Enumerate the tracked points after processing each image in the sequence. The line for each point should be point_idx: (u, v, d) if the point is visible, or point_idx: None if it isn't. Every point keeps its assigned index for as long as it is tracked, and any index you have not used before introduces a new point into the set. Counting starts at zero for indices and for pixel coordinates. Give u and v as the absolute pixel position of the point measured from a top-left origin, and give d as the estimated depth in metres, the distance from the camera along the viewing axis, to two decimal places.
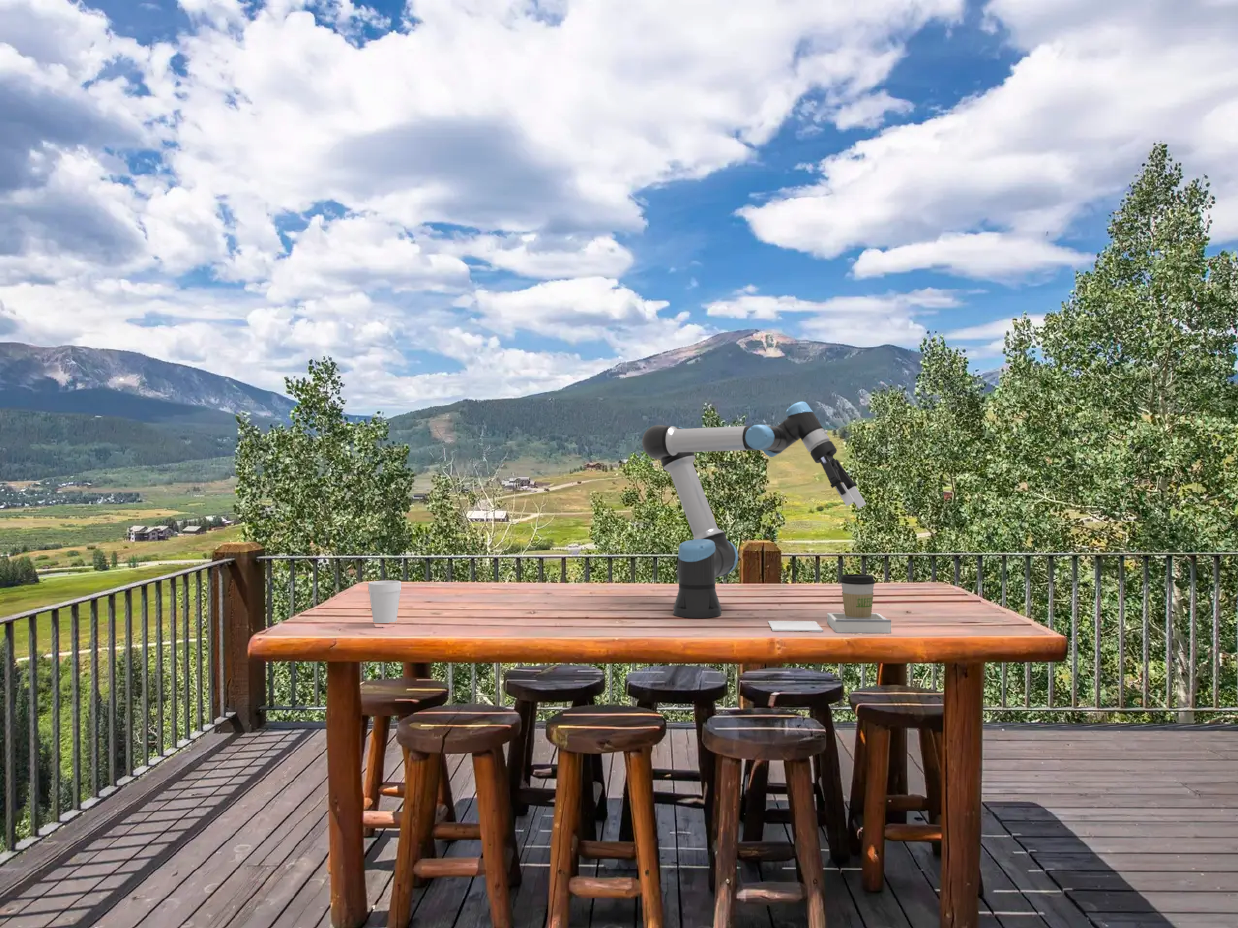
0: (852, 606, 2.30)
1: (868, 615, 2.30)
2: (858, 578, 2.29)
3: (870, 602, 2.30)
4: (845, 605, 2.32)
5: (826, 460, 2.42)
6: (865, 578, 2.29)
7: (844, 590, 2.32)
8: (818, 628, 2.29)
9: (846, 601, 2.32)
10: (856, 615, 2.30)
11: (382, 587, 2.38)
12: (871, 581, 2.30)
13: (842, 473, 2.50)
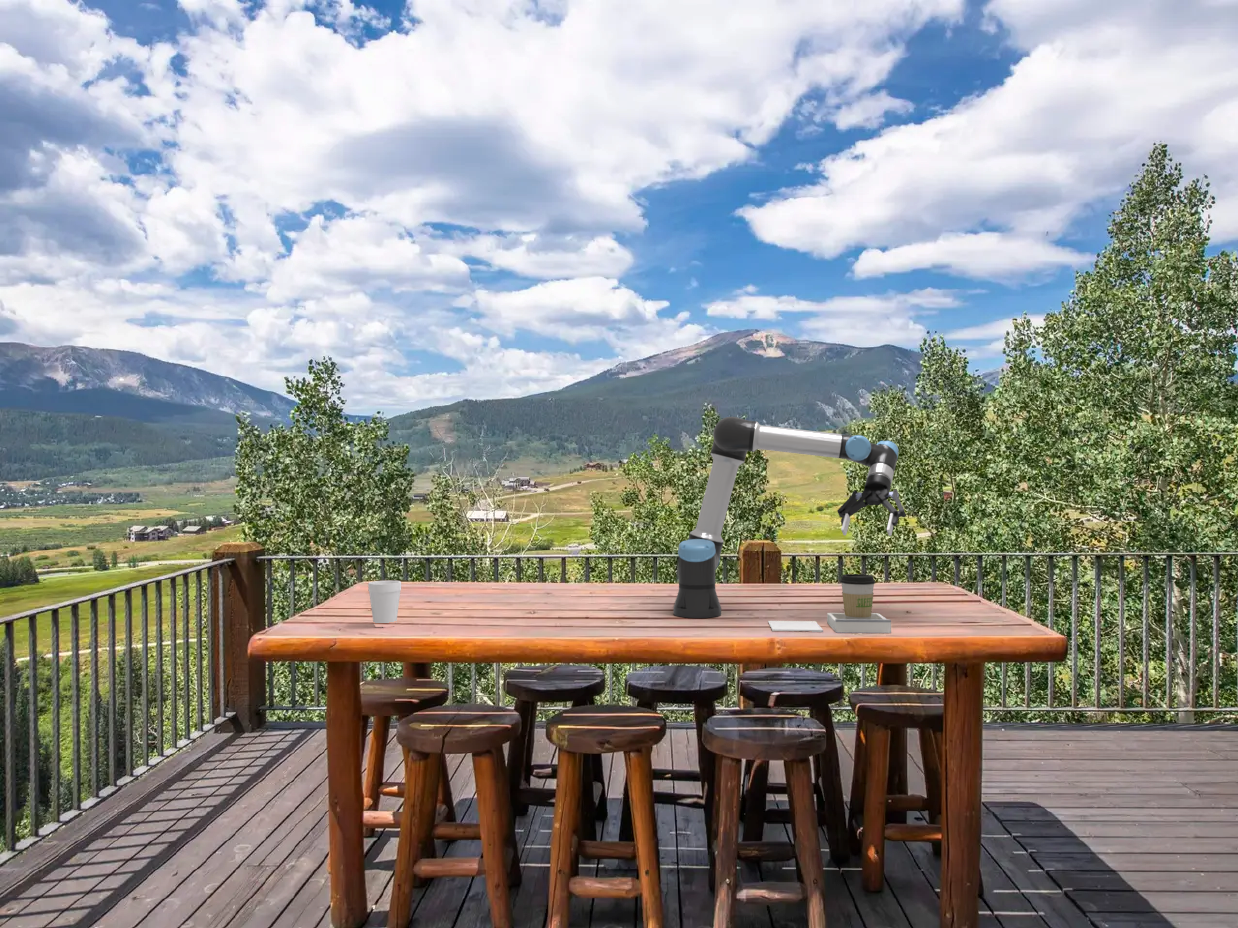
0: (852, 606, 2.30)
1: (868, 615, 2.30)
2: (858, 578, 2.29)
3: (870, 602, 2.30)
4: (845, 605, 2.32)
5: (898, 497, 2.47)
6: (865, 578, 2.29)
7: (844, 590, 2.32)
8: (818, 628, 2.29)
9: (846, 601, 2.32)
10: (856, 615, 2.30)
11: (382, 587, 2.38)
12: (871, 581, 2.30)
13: (862, 506, 2.51)
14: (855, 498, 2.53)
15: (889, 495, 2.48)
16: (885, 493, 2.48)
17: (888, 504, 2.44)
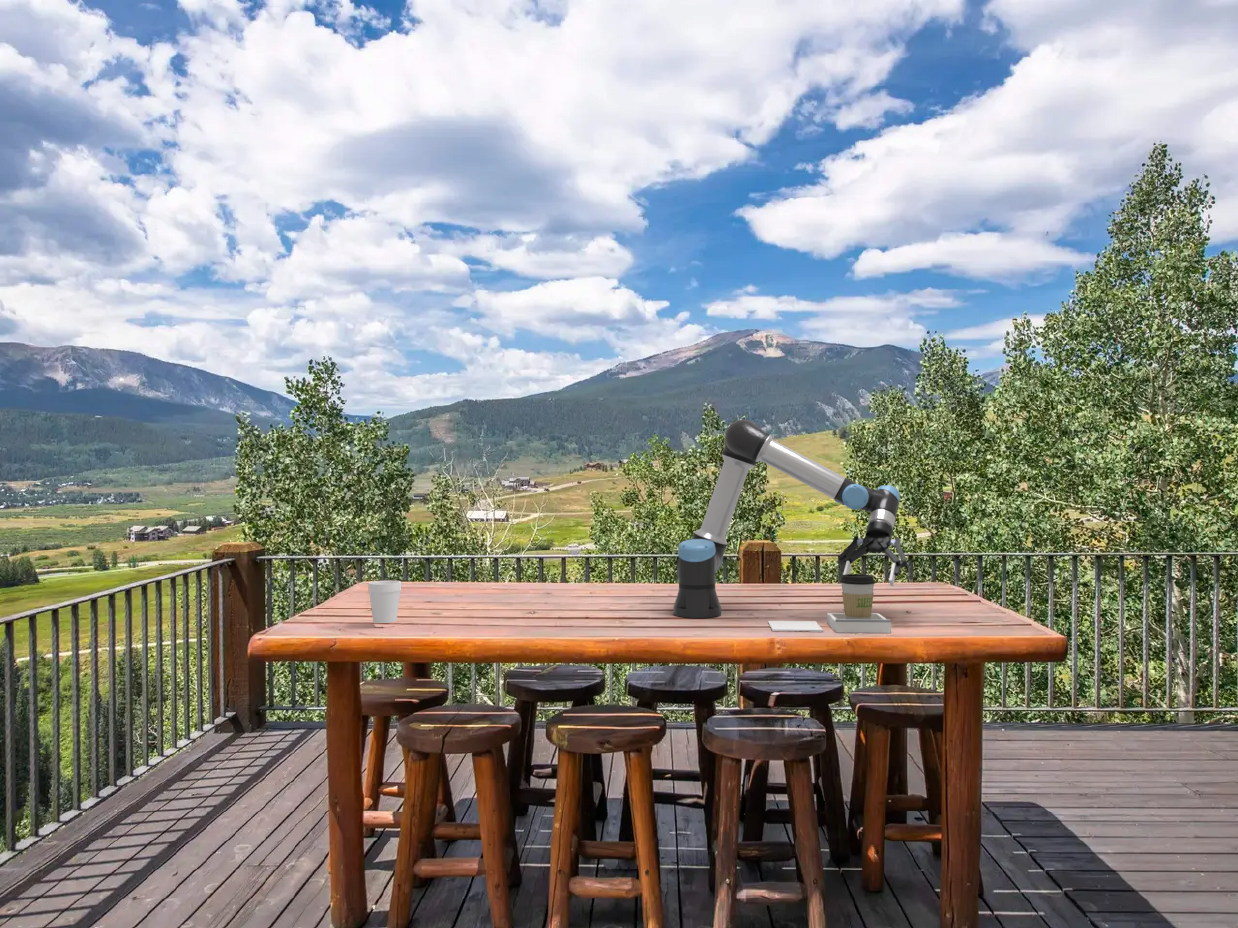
0: (852, 606, 2.30)
1: (868, 615, 2.30)
2: (858, 578, 2.29)
3: (870, 602, 2.30)
4: (845, 605, 2.32)
5: (900, 545, 2.44)
6: (865, 578, 2.29)
7: (844, 590, 2.32)
8: (818, 628, 2.29)
9: (846, 601, 2.32)
10: (856, 615, 2.30)
11: (382, 587, 2.38)
12: (871, 581, 2.30)
13: (863, 553, 2.47)
14: (856, 544, 2.49)
15: (891, 543, 2.45)
16: (887, 541, 2.45)
17: (890, 553, 2.41)
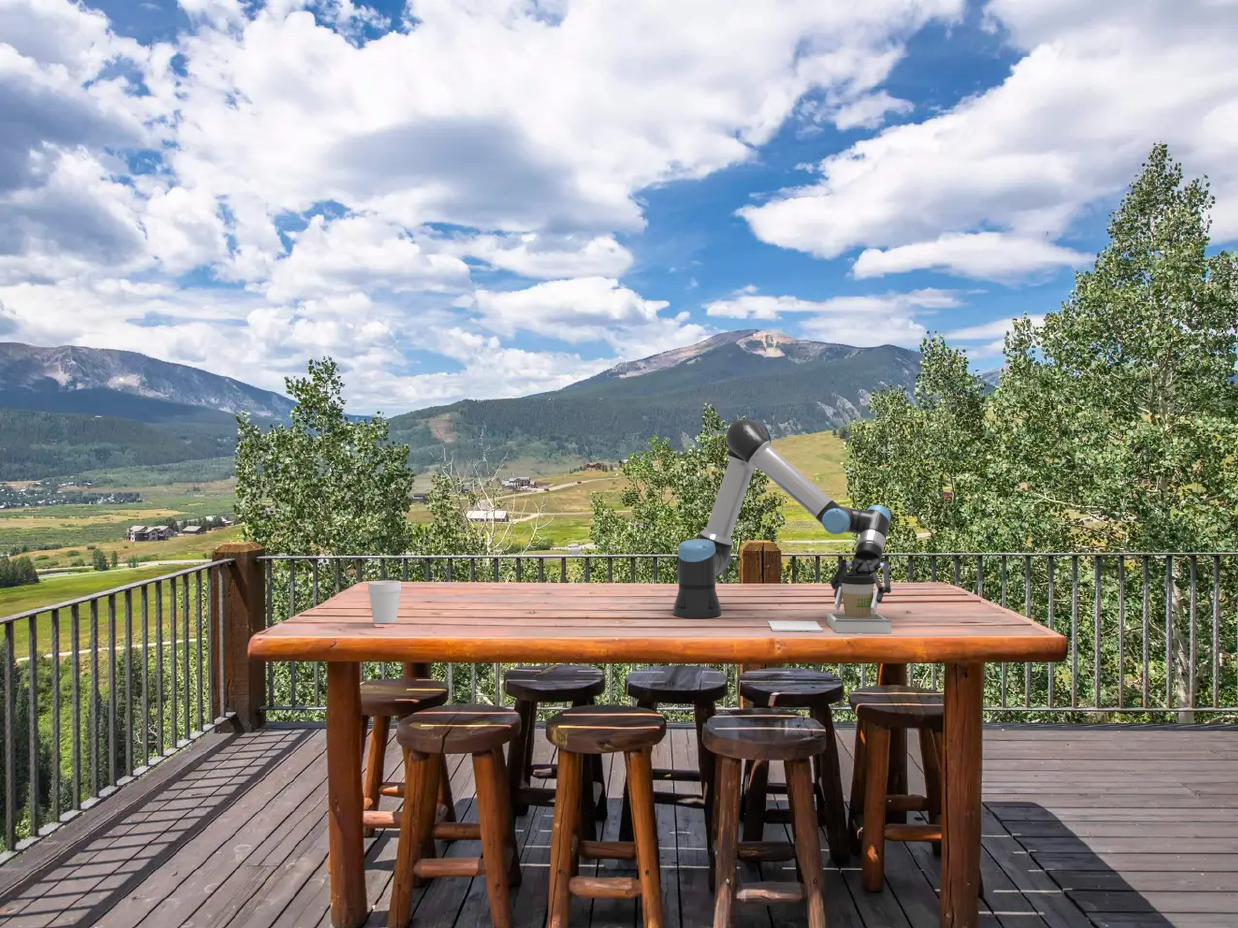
0: (852, 606, 2.30)
1: (868, 615, 2.30)
2: (858, 578, 2.29)
3: (870, 602, 2.30)
4: (845, 605, 2.32)
5: (888, 570, 2.37)
6: (865, 578, 2.29)
7: (844, 590, 2.32)
8: (818, 628, 2.29)
9: (846, 601, 2.32)
10: (856, 615, 2.30)
11: (382, 587, 2.38)
12: (871, 581, 2.30)
13: None
14: (846, 567, 2.42)
15: (880, 566, 2.38)
16: (876, 563, 2.38)
17: (875, 577, 2.34)
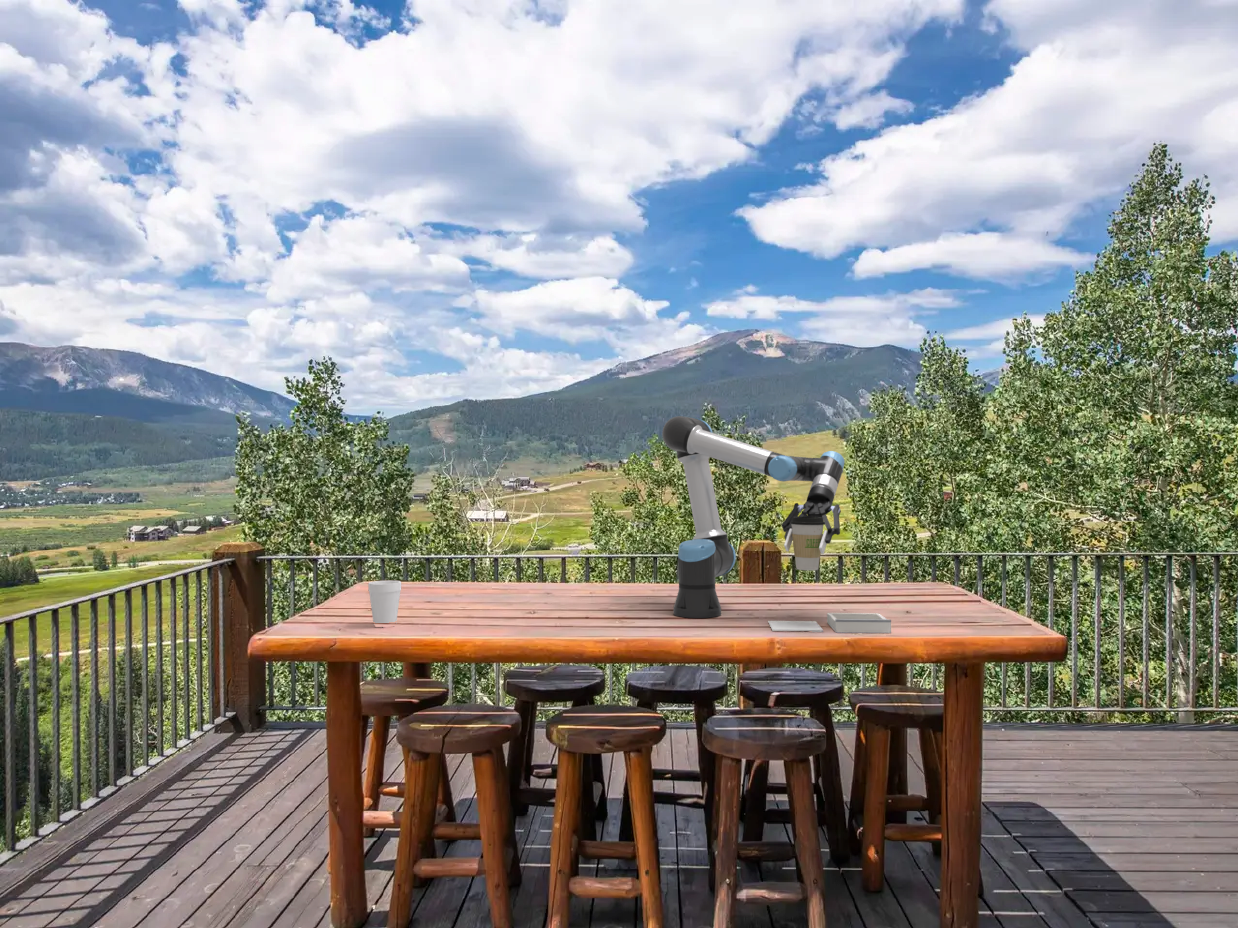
0: (801, 547, 2.32)
1: (817, 556, 2.32)
2: (807, 519, 2.31)
3: (819, 543, 2.32)
4: (794, 546, 2.34)
5: (839, 513, 2.38)
6: (814, 519, 2.31)
7: (794, 531, 2.34)
8: (818, 628, 2.29)
9: (795, 542, 2.33)
10: (804, 556, 2.31)
11: (382, 587, 2.38)
12: (820, 522, 2.31)
13: None
14: (797, 511, 2.44)
15: (831, 509, 2.39)
16: (827, 506, 2.39)
17: (825, 519, 2.36)
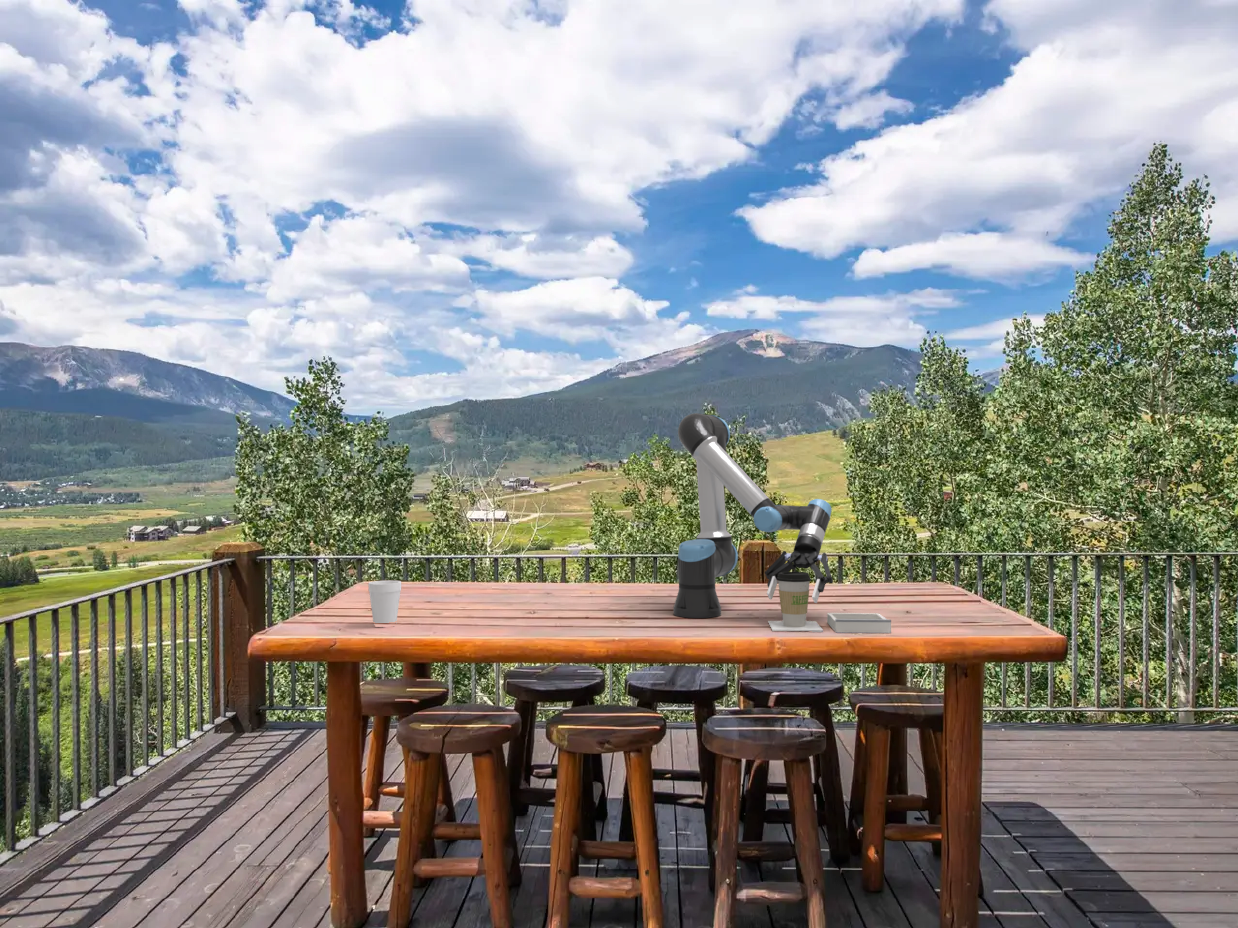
0: (787, 604, 2.32)
1: (803, 612, 2.32)
2: (793, 575, 2.31)
3: (805, 599, 2.32)
4: (781, 602, 2.34)
5: (827, 561, 2.39)
6: (800, 575, 2.31)
7: (780, 587, 2.34)
8: (818, 628, 2.29)
9: (782, 598, 2.34)
10: (791, 613, 2.32)
11: (382, 587, 2.38)
12: (806, 578, 2.32)
13: (790, 569, 2.42)
14: (784, 559, 2.45)
15: (818, 558, 2.40)
16: (814, 556, 2.40)
17: (816, 569, 2.36)
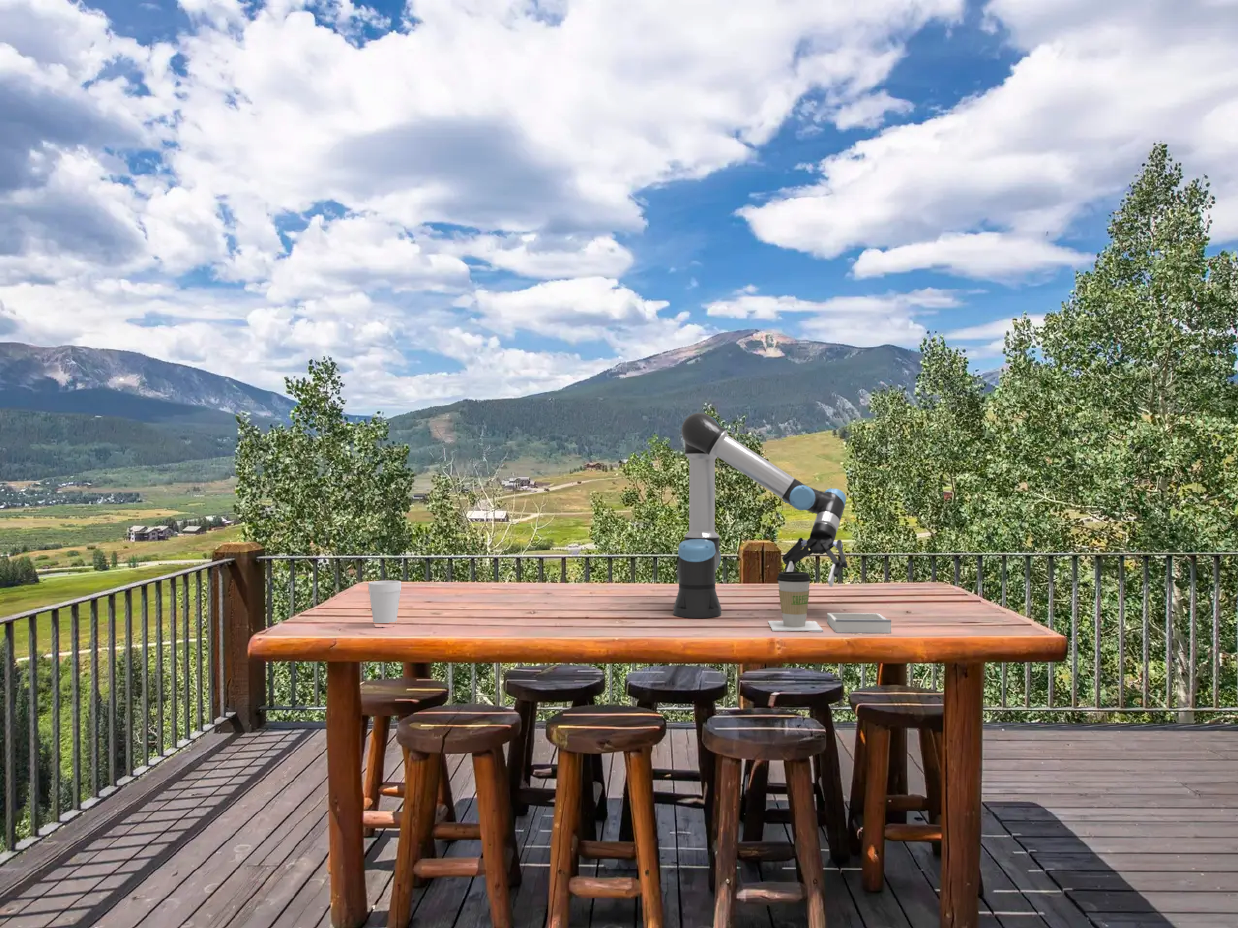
0: (787, 604, 2.32)
1: (803, 612, 2.32)
2: (793, 575, 2.31)
3: (805, 599, 2.32)
4: (781, 602, 2.34)
5: (842, 547, 2.50)
6: (800, 575, 2.31)
7: (780, 587, 2.34)
8: (818, 628, 2.29)
9: (782, 598, 2.34)
10: (791, 613, 2.32)
11: (382, 587, 2.38)
12: (806, 578, 2.32)
13: (806, 554, 2.53)
14: (800, 545, 2.56)
15: (833, 545, 2.51)
16: (829, 542, 2.51)
17: (831, 554, 2.47)
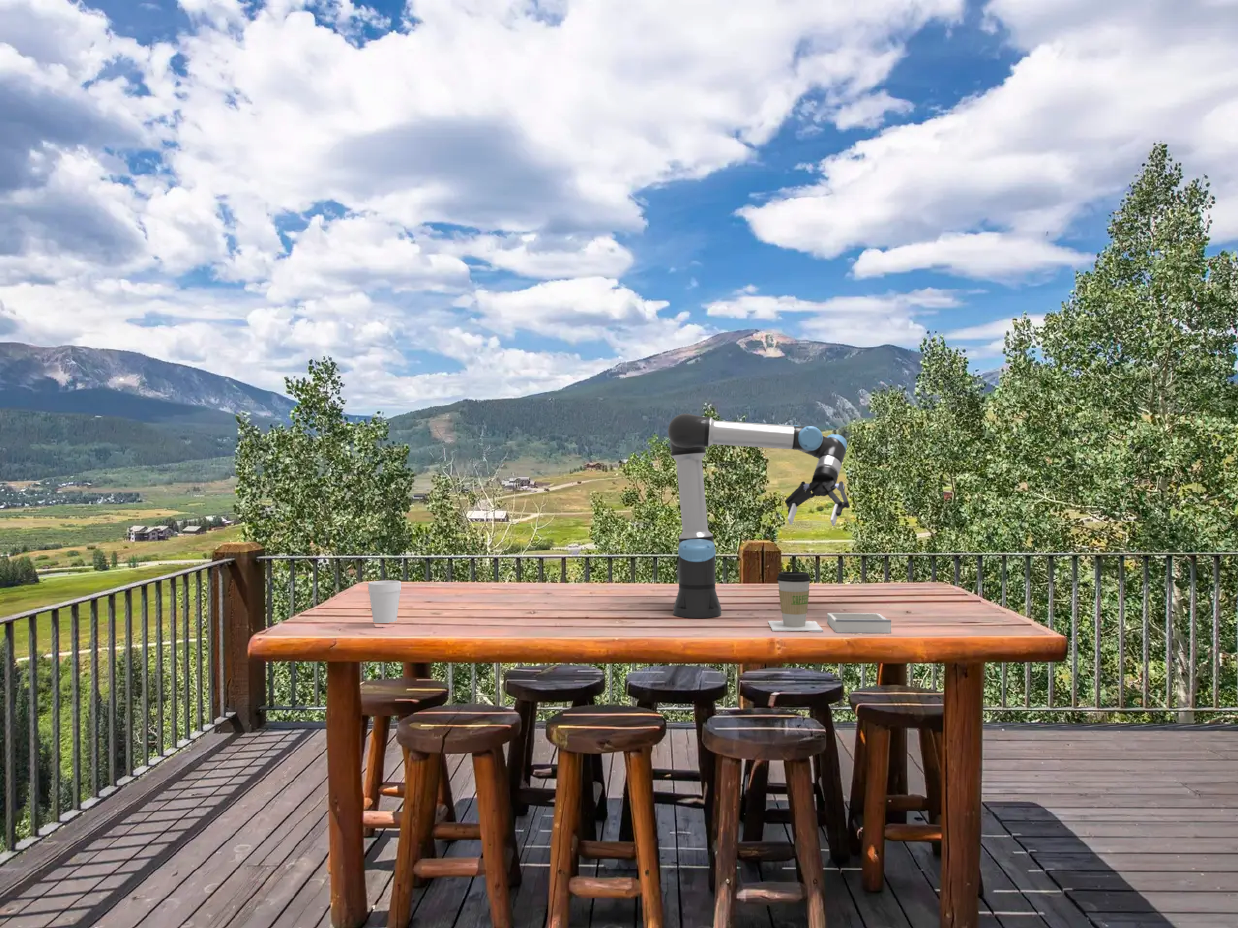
0: (787, 604, 2.32)
1: (803, 612, 2.32)
2: (793, 575, 2.31)
3: (805, 599, 2.32)
4: (781, 602, 2.34)
5: (844, 489, 2.54)
6: (800, 575, 2.31)
7: (780, 587, 2.34)
8: (818, 628, 2.29)
9: (782, 598, 2.34)
10: (791, 613, 2.32)
11: (382, 587, 2.38)
12: (806, 578, 2.32)
13: (809, 497, 2.58)
14: (803, 489, 2.60)
15: (835, 487, 2.55)
16: (831, 484, 2.55)
17: (833, 495, 2.51)
